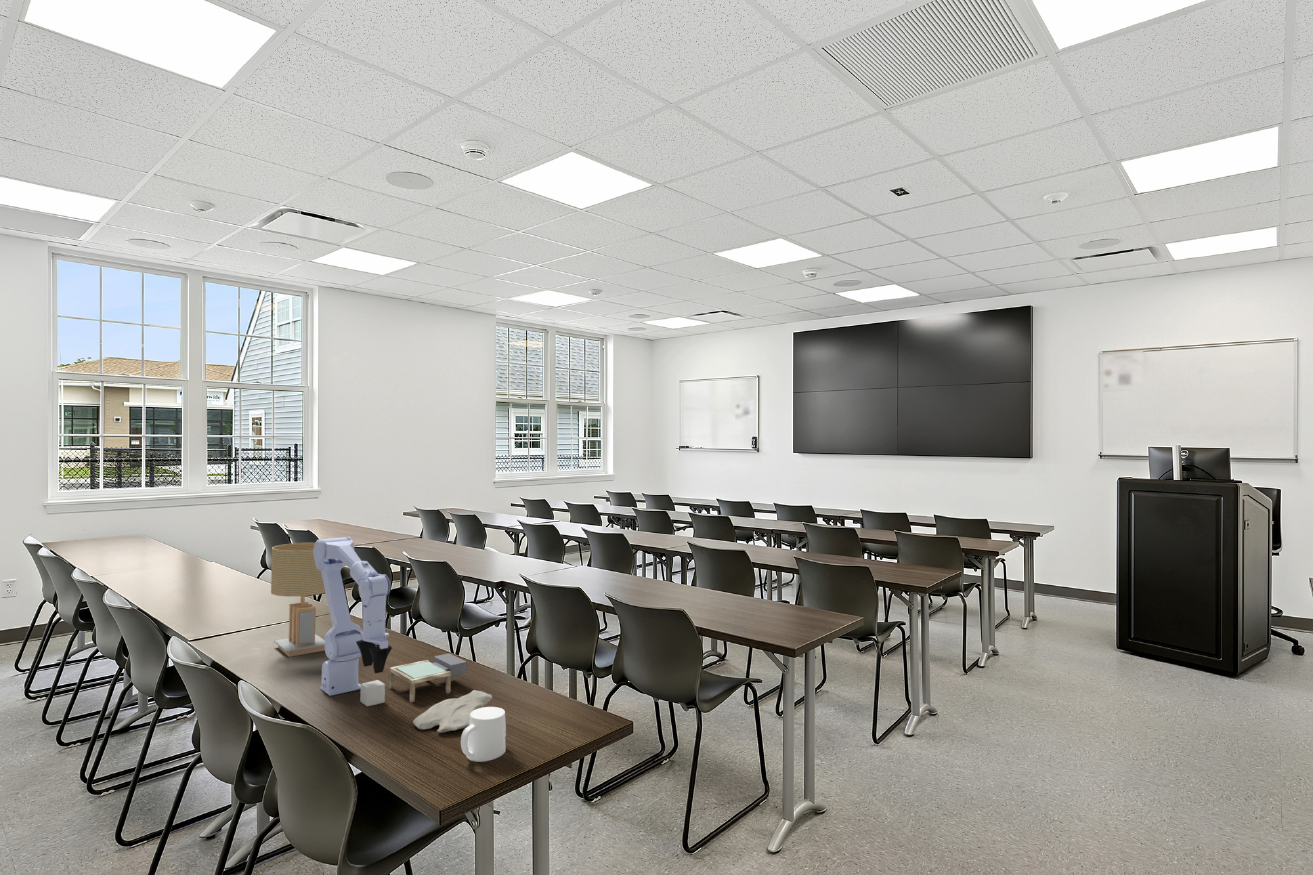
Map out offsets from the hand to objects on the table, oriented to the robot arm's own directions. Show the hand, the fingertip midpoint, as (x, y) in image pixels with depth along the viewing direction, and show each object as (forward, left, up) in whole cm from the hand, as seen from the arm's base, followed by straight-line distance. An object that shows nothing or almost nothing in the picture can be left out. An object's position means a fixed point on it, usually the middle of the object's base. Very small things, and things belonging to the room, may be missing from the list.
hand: (373, 669), depth 195 cm
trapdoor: (+17, 0, -5) cm, 18 cm away
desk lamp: (+1, +65, -9) cm, 65 cm away
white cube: (0, 0, -9) cm, 9 cm away
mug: (+6, -49, -9) cm, 51 cm away
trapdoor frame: (+14, 0, -9) cm, 16 cm away
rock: (+11, -28, -10) cm, 32 cm away
